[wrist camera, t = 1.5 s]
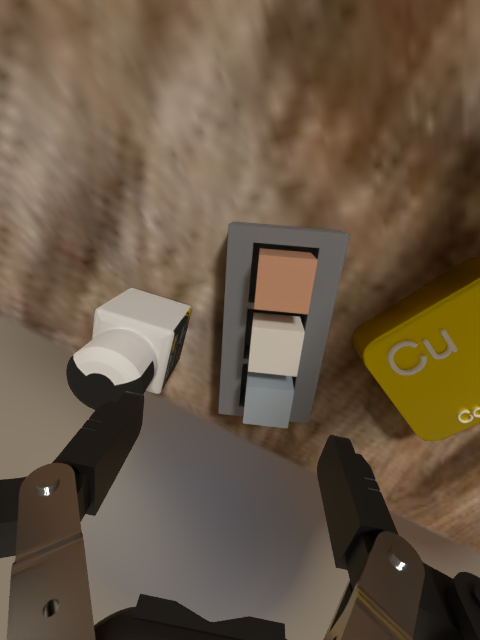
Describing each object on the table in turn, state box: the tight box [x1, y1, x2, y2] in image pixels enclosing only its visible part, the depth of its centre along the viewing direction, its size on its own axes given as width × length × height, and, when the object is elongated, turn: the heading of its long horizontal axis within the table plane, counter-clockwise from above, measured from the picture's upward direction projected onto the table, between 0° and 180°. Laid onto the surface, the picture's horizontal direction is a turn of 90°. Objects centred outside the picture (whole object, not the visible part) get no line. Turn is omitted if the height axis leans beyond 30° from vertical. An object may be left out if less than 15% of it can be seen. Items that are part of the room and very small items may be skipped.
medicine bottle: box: [67, 288, 192, 410], centre depth 26 cm, size 7×7×12 cm
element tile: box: [352, 258, 480, 441], centre depth 28 cm, size 15×15×5 cm
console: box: [218, 222, 350, 424], centre depth 29 cm, size 10×20×4 cm, turn 176°
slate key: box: [243, 372, 294, 429], centre depth 28 cm, size 4×4×4 cm
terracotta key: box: [254, 248, 318, 314], centre depth 24 cm, size 4×4×4 cm
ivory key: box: [248, 312, 305, 377], centre depth 26 cm, size 4×4×4 cm
